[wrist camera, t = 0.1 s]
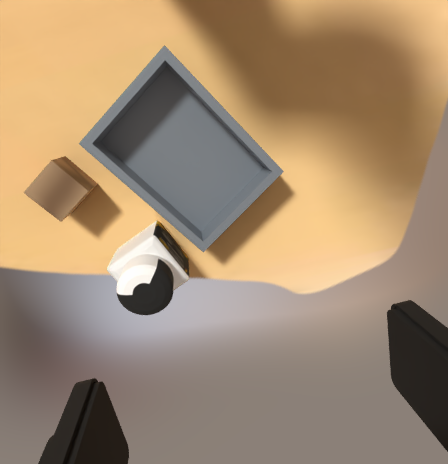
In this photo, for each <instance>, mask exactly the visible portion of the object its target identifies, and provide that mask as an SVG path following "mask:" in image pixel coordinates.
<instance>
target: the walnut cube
mask: <svg viewBox="0 0 448 464" xmlns="http://www.w3.org/2000/svg"><path fill="white" fill-rule="evenodd" d="M96 186H97V183H96V182H95V181H94V180H93V179H92V178H90V177H89V176H88V175H87V174H86V173H84V172H83V171H82V170H81V169H80V168H79V167H77V166H76V165H75V164H74V163H73V162H71V161H70V160H69V159H68V158H67V157H66V156H65V157H61V158H58V159H55V160H51V161H50V163H49V164H48V165H47V166H46V167H45V168H44V170H43V171H42V172H41V173H40V174H39V175H38V177H37V178H36V179H35V180H34V181H33V182H32V183H31V185H30V186H29V187H28V188H27V189H26V190H25V192H24V193H25V194H26V195H27V196H28V197H30V198H31V199H32V200H34V201H35V202H36V203H37V204H39V205H40V206H41V207H43V208H44V209H45V210H46V211H48V212H49V213H50V214H52V215H53V216H54V217H55V218H57V219H58V220H59V221H60V222H61V221H62V220H63V219H65V218H66V217H67V216H68V215H69V214H71V213H72V212H73V211H74V210H75V209H76V208H77V207H78V206H79V204H80V203H81V202H82V201H83V200H84V199H85V198H86V197H87V196H88V194H89V193H90V192H91V191H92V190H93V189H94V188H95V187H96Z"/></svg>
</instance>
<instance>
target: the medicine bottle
mask: <svg viewBox="0 0 448 464" xmlns="http://www.w3.org/2000/svg"><path fill="white" fill-rule="evenodd" d="M107 271H108V272H109V273H110V274H111V275H112V276H113V277H114V278H115V280H116V281H117V282H118V284H117V296H118V299H119V301H120V302H121V304H122V305H123V306H124V307H125V308H126V309H127V310H129V311H131V312H133V313H136V314H139V315H151V314H155V313H157V312H159V311H161V310H163V309H164V308H165V307H166V306H167V305H168V304H169V302H170V301H171V299H172V295H173V290H175V289H176V288H178V287H179V286H180V285H182V284H183V283H185V282H186V281H188V280H189V262H188V257H187V256H186V254H185V253H184V252H183V251H182V249H181V248H180V247H179V246H178V244H177V243H176V242H175V241H174V239H173V238H172V237H171V236H170V234H169V233H168V232H167V231H166V229H165V228H164V227H163V226H162V225H161V223H160V222H159V221H155V222H154V223H152V224H151V225H150V226H148V227H147V228H145V229H144V230H143V231H141V232H140V233H138V234H137V235H136V236H134V237H133V238H131V239H130V240H129V241H127V242H126V243H124V244H123V245H122V246H120V247H119V248H118V249H117V250H116V252H115V254H114V256H113V258H112V260H111V262H110V264H109V266H108V268H107Z"/></svg>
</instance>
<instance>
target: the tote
mask: <svg viewBox="0 0 448 464" xmlns="http://www.w3.org/2000/svg"><path fill="white" fill-rule="evenodd" d="M79 144H80V145H81V146H82V147H83V148H84V149H85V150H87V151H88V152H89V153H90V154H91V155H92V156H93V157H95V158H96V159H97V160H98V161H99V162H100V163H101V164H103V165H104V166H105V167H106V168H107V169H108V170H110V171H111V172H112V173H113V174H114V175H115V176H116V177H118V178H119V179H120V180H121V181H122V182H123V183H124V184H126V185H127V186H128V187H129V188H130V189H131V190H132V191H134V192H135V193H136V194H137V195H138V196H139V197H141V198H142V199H143V200H144V201H145V202H146V203H147V204H149V205H150V206H151V207H152V208H153V209H154V210H155V211H157V212H158V213H159V214H160V215H161V216H162V217H163V218H165V219H166V220H167V221H168V222H169V223H170V224H172V225H173V226H174V227H175V228H176V229H177V230H178V231H180V232H181V233H182V234H183V235H184V236H185V237H186V238H188V239H189V240H190V241H191V242H192V243H193V244H194V245H196V246H197V247H198V248H199V249H200V250H201V251H203V252H204V251H205V250H206V249H207V248H208V247H209V246H210V245H211V244H212V243H213V242H214V241H215V240H216V239H217V238H218V237H219V236H220V235H221V234H222V233H223V232H224V231H225V230H226V229H227V228H228V227H229V226H230V225H231V224H232V223H233V222H234V221H235V220H236V219H237V218H238V217H239V216H240V215H241V214H242V213H243V212H244V211H245V210H246V209H247V208H248V207H249V206H250V205H251V204H252V203H253V202H254V201H255V200H256V199H257V198H258V197H259V196H260V195H261V194H262V193H263V192H264V191H265V190H266V189H267V188H268V187H269V186H270V185H271V184H272V183H273V182H274V181H275V180H276V179H277V178H278V177H279V176H280V175H281V174H282V173H283V172H284V171H283V170H282V169H281V168H280V167H279V166H278V165H277V164H276V163H275V162H274V161H273V160H272V159H271V158H270V157H269V155H268V154H267V153H266V152H265V151H264V150H263V149H262V148H261V147H260V146H259V145H258V144H257V143H256V142H255V141H254V140H253V139H252V137H251V136H250V135H249V134H248V133H247V132H246V131H245V130H244V129H243V128H242V127H241V126H240V125H239V124H238V123H237V122H236V121H235V119H234V118H233V117H232V116H231V115H230V114H229V113H228V112H227V111H226V110H225V109H224V108H223V107H222V106H221V105H220V104H219V103H218V101H217V100H216V99H215V98H214V97H213V96H212V95H211V94H210V93H209V92H208V91H207V90H206V89H205V88H204V87H203V86H202V84H201V83H200V82H199V81H198V80H197V79H196V78H195V77H194V76H193V75H192V74H191V73H190V72H189V71H188V70H187V69H186V68H185V66H184V65H183V64H182V63H181V62H180V61H179V60H178V59H177V58H176V57H175V56H174V55H173V54H172V53H171V52H170V51H169V50H168V48H167V47H166V46H165V45H164V46H163V48H162V49H161V50H160V51H159V52H158V53H157V55H156V56H155V57H154V58H153V59H152V60H151V61H150V63H149V64H148V65H147V66H146V67H145V68H144V69H143V71H142V72H141V73H140V74H139V75H138V76H137V77H136V79H135V80H134V81H133V82H132V83H131V84H130V86H129V87H128V88H127V89H126V90H125V91H124V92H123V94H122V95H121V96H120V97H119V98H118V99H117V100H116V102H115V103H114V104H113V105H112V106H111V107H110V108H109V110H108V111H107V112H106V113H105V114H104V115H103V116H102V118H101V119H100V120H99V121H98V122H97V123H96V125H95V126H94V127H93V128H92V129H91V130H90V131H89V133H88V134H87V135H86V136H85V137H84V138H83V139H82V141H81V142H80V143H79Z"/></svg>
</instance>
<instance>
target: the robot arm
mask: <svg viewBox="0 0 448 464" xmlns="http://www.w3.org/2000/svg"><path fill="white" fill-rule="evenodd" d="M387 320H388V336H389V351H390V366H391V378H392V381H393V383H394V385H395V387H396V388H397V390H398V391H399V392H400V394H401V395H402V396H403V397H404V398H405V400H406V401H407V402H408V403H409V405H410V406H411V407H412V408H413V410H414V411H415V412H416V413H417V414H418V416H419V417H420V418H421V419H422V420H423V422H424V423H425V424H426V425H427V427H428V428H429V429H430V430H431V432H432V433H433V434H434V435H435V436H436V438H437V439H438V440H439V442H440V443H441V444H442V445H443V446H444V448H445V449H446V450H447V451H448V328H447V327H445V326H444V325H443V324H441V323H440V322H439V321H438V320H436V319H435V318H434V317H433V316H431V315H430V314H428V313H427V312H426V311H425V310H423V309H422V308H421V307H420V306H418V305H417V304H416V303H414V302H413V301H411V300H408V301H405V302H400V303H397V304H393V305H392V306H391V310H388V312H387ZM128 458H129V449H128V444H127V442H126V439H125V437H124V434H123V432H122V429H121V426H120V424H119V421H118V419H117V416H116V413H115V411H114V408H113V406H112V403H111V400H110V398H109V395H108V393H107V390H106V387H105V385H104V383H103V382H98V381H97V380H96V379H90V380H86V381H82V382H78V383H76V384H75V386H74V388H73V390H72V392H71V395H70V397H69V400H68V402H67V405H66V407H65V409H64V412H63V414H62V417H61V419H60V422H59V424H58V427H57V429H56V431H55V434H54V435H53V436H52V437H51V438H50V439H49V440H48V442H47V444H46V447H45V449H44V451H43V454H42V456H41V458H40V461H39V463H38V464H128Z"/></svg>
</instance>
